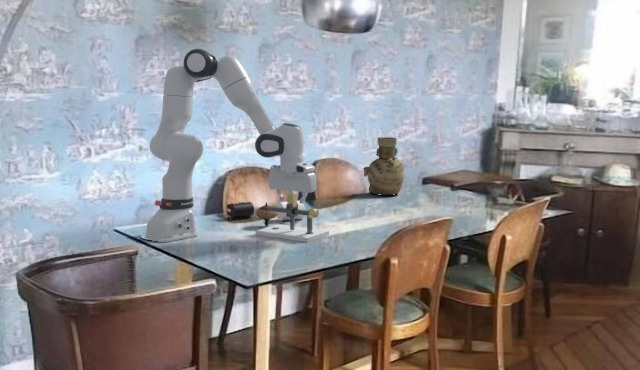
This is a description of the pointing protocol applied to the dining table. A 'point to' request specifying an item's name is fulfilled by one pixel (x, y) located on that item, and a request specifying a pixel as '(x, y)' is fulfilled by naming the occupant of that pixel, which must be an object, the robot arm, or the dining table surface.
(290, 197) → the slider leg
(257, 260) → the dining table surface
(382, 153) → the ceramic vessel
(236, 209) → the end cap
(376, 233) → the dining table surface
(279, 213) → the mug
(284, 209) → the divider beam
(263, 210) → the brown spinning top
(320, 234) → the hole board
